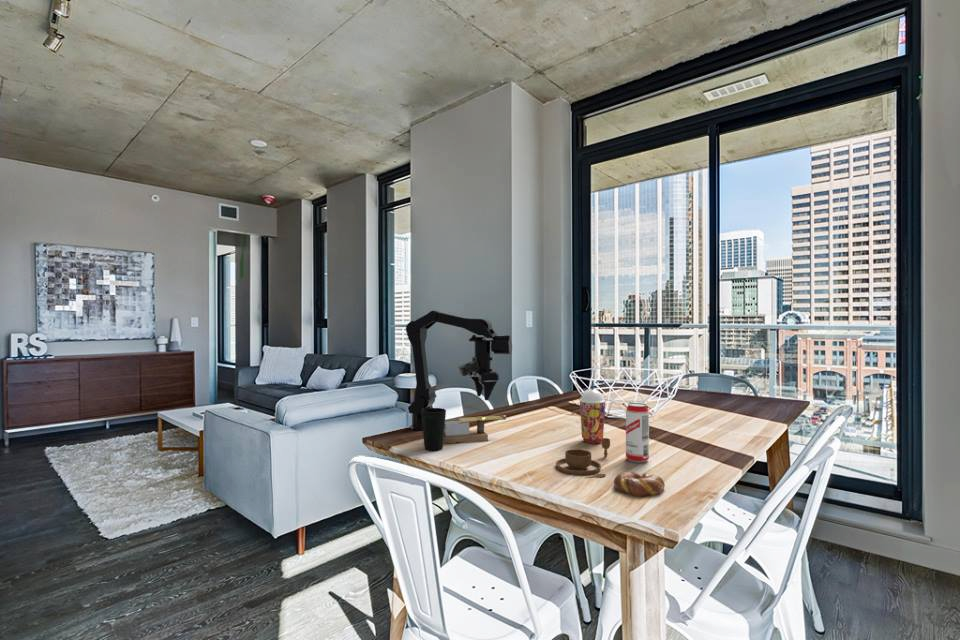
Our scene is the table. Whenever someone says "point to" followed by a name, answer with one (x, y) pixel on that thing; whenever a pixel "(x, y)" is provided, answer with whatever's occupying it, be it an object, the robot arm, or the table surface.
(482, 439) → the plane body
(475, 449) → the table surface
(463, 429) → the grey block
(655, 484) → the pretzel
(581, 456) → the place setting
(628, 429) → the beer can
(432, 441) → the cup
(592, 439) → the smoothie
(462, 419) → the lever
